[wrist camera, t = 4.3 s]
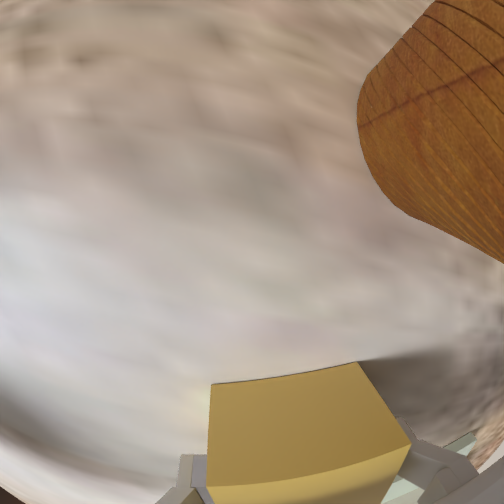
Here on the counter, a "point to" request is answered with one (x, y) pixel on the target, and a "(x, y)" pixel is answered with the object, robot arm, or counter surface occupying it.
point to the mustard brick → (303, 440)
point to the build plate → (404, 486)
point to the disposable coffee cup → (442, 121)
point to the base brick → (407, 497)
